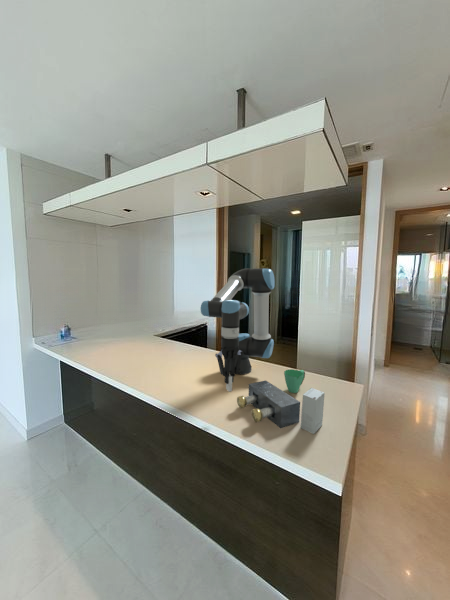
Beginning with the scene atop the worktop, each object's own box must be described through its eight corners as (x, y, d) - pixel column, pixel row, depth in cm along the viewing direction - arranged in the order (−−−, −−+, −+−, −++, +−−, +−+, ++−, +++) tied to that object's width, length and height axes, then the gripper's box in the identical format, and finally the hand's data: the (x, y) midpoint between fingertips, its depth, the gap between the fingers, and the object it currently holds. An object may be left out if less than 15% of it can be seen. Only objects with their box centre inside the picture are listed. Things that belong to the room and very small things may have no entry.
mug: (295, 397, 132) (296, 378, 131) (279, 390, 139) (280, 372, 138) (310, 388, 142) (311, 371, 140) (295, 382, 149) (295, 365, 148)
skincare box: (309, 420, 111) (311, 387, 110) (323, 426, 107) (325, 391, 106) (300, 428, 105) (301, 393, 104) (314, 435, 101) (316, 398, 100)
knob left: (236, 405, 119) (237, 394, 119) (259, 399, 125) (259, 389, 124) (242, 410, 115) (242, 399, 114) (265, 404, 120) (266, 393, 120)
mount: (248, 401, 126) (248, 384, 125) (265, 397, 131) (265, 380, 130) (280, 428, 105) (281, 407, 104) (299, 422, 110) (300, 401, 109)
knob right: (251, 418, 109) (251, 407, 108) (275, 411, 114) (275, 400, 114) (258, 424, 104) (258, 413, 104) (282, 417, 110) (283, 405, 109)
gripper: (220, 340, 104) (219, 396, 107) (247, 337, 110) (246, 390, 113) (212, 336, 111) (211, 389, 113) (238, 333, 117) (237, 384, 119)
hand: (228, 390), depth 113 cm, fingers closed
